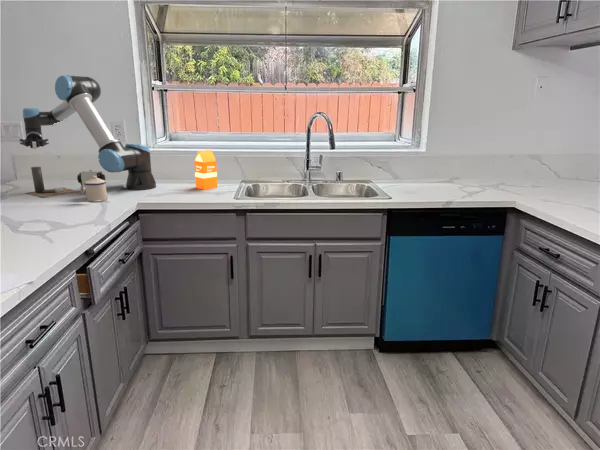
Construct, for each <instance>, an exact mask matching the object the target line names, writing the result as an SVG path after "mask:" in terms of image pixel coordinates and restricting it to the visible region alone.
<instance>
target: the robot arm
mask: <svg viewBox="0 0 600 450" xmlns="http://www.w3.org/2000/svg"><path fill="white" fill-rule="evenodd" d="M54 92H55V94H56V97H57V98H58V99H59V100H60V101H63V102H61V103H59V105H57V106H56V107H54V108H53V109H52V110H50V111H39V108H36V107H35V108H33V107H25V108H22V118H23V122H24V130H25V139H22V138H20V139H19V143H20V145H23V146H25V147H29V148H30V149H32V150H37V149H38V148H40V147H45V146H47V145H49V143H50V142H49V139H48V138H45V139H43V132H42V126H44V127H45V126H54V125H53V124H54V123H57V122H60V121H63V120H64V119H66V120H67V119H68V118H69V117H71V116H72V115H73V114H75V113H77V114H78V115H79V118H80V119H81V120H82V122H83V124H84V125H85V127H86V129H87V131H88V132H89V133H90V135H91V137H92V138H93V140H94V142H95V143H96V145H97V146H98V152H97V153H98V155H97V159H98V163H99V166H101V168H102V169H103V170H104V171H106V172H108V173H120V172H125V171H127V178H126V182H125V186H126V189H127V190H131V191H141V190H150V189H155V188H156V187H157V182H156V181H155V177H154V175H153V173H152V163H151V152H150V147H149V145H147V144H137V143H136V144H135V143H125V146H124V145H123V144H122V142H121V140H117V139H116V138H115V136H114V135H113V134H112V132H111V130H110V129H109V127H108V125H107V124H106V122H105V120H104V119H103V117H102V116H101V115H100V113H99V111H98V110H97V108H96V106H95V105H94V102H96V101H97V100H98V99H99V98H100V96H101V93H102V89H101V85H100V84H99V83H98V82H97V81H96V80H95V79H94V78H93V77H89V76H80V75H79V76H77V75H69V74H67V75H59V76H58V77H57V78H56V80H55V83H54Z"/></svg>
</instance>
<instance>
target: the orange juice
mask: <svg viewBox="0 0 600 450" xmlns="http://www.w3.org/2000/svg"><path fill="white" fill-rule="evenodd" d="M217 167H218V166H217V160H216V158H215V155H214V153H213V151H212V149H207V150H198V151H197V153H196V156H195V159H194V177H195V188H196V189H200V190H205V191H206V190H210V189H215V188H218V172H217V171H218V169H217Z"/></svg>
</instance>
